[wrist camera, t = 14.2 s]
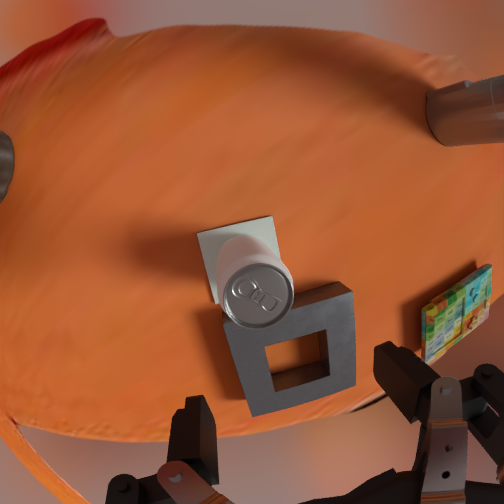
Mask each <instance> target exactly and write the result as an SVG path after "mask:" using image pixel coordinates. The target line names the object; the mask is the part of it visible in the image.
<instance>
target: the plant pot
mask: <svg viewBox="0 0 504 504" xmlns="http://www.w3.org/2000/svg"><path fill="white" fill-rule="evenodd" d="M13 170H14V149H13V145H12V142H11V139H10V138H9V136H8V135H6V134H5V133H4V132H2V131H0V202H1V201H2V200H3V198H4V197H5V195H6V193H7V187H8V185H9V183H10V181H11V180H12V176H13Z"/></svg>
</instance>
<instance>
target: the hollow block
mask: <svg viewBox="0 0 504 504" xmlns="http://www.w3.org/2000/svg"><path fill="white" fill-rule="evenodd" d="M222 315H223V327H224V330H225V334H226V337H227V340H228V344H229V347H230V350H231V353H232V357H233V360H234V363H235V366H236V369H237V372H238V376H239V379H240V382H241V385H242V388H243V391H244V394H245V397H246V400H247V403H248V406H249V409H250V412H251V414H252V417H255V416H259V415H263V414H267V413H272V412H275V411H279V410H283V409H287V408H290V407H294V406H297V405H300V404H304V403H307V402H310V401H313V400H316V399H319V398H322V397H325V396H328V395H331V394H334V393H337V392H339V391H342V390H345V389H347V388H350V387H353V386H355V385H356V344H355V319H354V302H353V291H352V290H350V289H349V288H348V287H346V286H345V285H344V284H342V283H341V282H340V281H339V282H336V283H332V284H329V285H325V286H322V287H318V288H315V289H311V290H308V291H304V292H301V293H297V294H294V299H293V304H292V307H291V309H290V311H289V312H288V314H287V315H286V317H285V318H284V319H283V320H282V321H280V322H279V323H278V324H276V325H274V326H272V327H270V328H267V329H262V330H251V329H246V328H243V327H241V326H239V325H237V324H236V323H234V322H233V321H232V320H231V319H230V318H229V316H228V315H227V314H226V313H225V312H222ZM314 332H318V338H319V347H320V356H321V361H318V362H314V363H311V364H308V365H305V366H302V367H298V368H295V369H291V370H288V371H284V372H281V373H277V374H273V375H271V374H270V369H269V365H268V361H267V357H266V353H265V348H264V347H265V346H269V345H272V344H276V343H280V342H284V341H287V340H291V339H294V338H298V337H301V336H305V335H308V334H311V333H314Z"/></svg>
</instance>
